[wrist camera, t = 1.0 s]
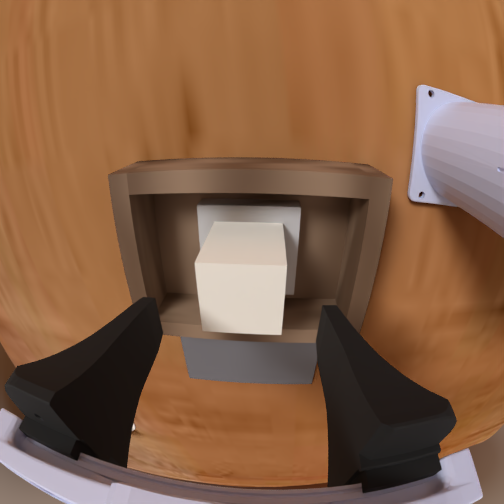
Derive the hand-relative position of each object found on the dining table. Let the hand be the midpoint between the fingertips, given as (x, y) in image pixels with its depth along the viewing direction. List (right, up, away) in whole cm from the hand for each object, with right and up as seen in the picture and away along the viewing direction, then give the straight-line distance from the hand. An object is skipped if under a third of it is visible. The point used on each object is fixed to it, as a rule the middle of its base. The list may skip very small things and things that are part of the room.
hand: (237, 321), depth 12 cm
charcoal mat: (+1, -6, +12) cm, 14 cm away
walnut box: (+1, +4, +7) cm, 8 cm away
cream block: (0, +3, +6) cm, 6 cm away
